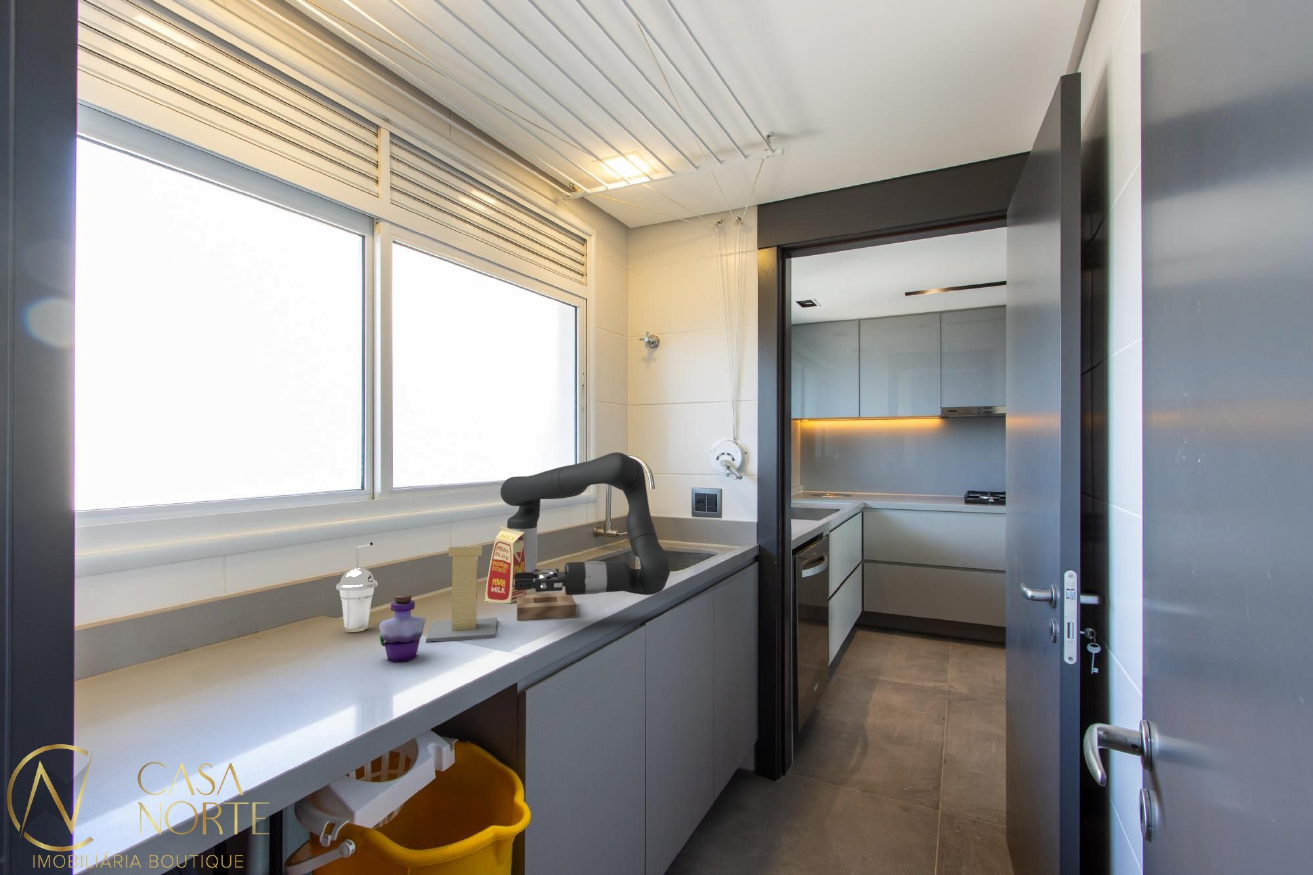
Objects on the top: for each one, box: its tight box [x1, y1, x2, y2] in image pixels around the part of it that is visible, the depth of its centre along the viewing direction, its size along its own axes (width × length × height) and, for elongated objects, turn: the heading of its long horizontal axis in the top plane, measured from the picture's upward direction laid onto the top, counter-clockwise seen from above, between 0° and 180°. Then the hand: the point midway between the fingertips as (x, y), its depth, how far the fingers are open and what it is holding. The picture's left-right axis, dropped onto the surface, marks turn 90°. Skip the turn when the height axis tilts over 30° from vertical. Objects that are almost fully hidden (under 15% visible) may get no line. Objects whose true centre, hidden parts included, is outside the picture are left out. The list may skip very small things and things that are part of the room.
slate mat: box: [425, 617, 498, 643], centre depth 133 cm, size 14×14×1 cm
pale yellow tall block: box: [448, 544, 483, 631], centre depth 134 cm, size 7×5×18 cm
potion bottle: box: [378, 594, 427, 664], centre depth 115 cm, size 9×9×12 cm
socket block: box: [516, 592, 577, 622], centre depth 150 cm, size 14×14×3 cm
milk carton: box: [484, 525, 528, 604], centre depth 165 cm, size 9×9×20 cm
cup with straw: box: [335, 541, 379, 629], centre depth 134 cm, size 8×9×20 cm
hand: (514, 581), depth 136 cm, fingers open, 8 cm apart
